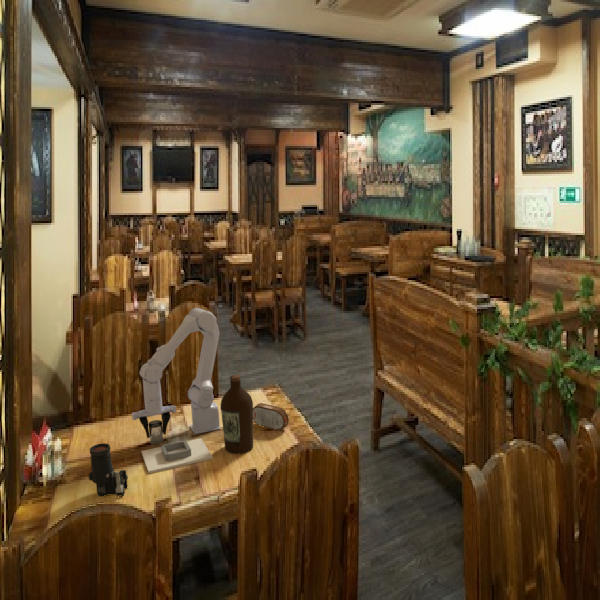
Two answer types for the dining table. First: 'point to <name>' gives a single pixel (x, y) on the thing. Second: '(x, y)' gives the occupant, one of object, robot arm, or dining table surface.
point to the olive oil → (237, 418)
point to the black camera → (106, 472)
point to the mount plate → (175, 455)
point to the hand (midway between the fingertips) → (156, 435)
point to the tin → (270, 416)
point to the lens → (155, 432)
